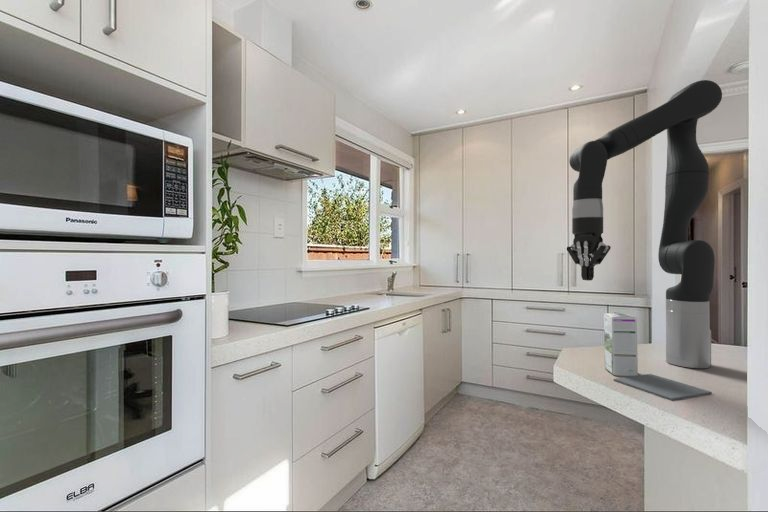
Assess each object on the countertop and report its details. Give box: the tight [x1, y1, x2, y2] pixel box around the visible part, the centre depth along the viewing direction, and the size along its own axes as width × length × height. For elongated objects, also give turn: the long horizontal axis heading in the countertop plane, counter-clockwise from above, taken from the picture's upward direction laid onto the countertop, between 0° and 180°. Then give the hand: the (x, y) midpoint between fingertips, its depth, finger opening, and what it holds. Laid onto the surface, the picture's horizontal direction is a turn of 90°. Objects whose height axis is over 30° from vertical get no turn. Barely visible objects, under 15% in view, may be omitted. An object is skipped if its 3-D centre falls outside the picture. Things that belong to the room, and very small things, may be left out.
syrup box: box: [603, 312, 639, 377], centre depth 95 cm, size 6×6×14 cm
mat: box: [613, 373, 712, 401], centre depth 84 cm, size 12×13×1 cm
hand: (587, 280), depth 104 cm, fingers closed
